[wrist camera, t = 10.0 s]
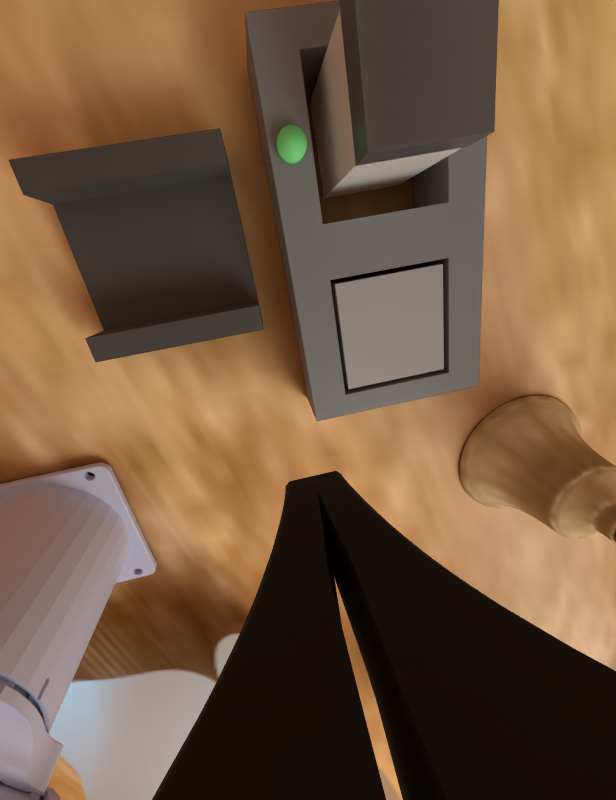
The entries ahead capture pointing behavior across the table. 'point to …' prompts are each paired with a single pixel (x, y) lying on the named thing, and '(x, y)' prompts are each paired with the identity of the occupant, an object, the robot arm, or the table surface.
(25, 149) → the table surface
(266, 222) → the table surface
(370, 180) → the plug
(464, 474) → the hand bell
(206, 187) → the dark grey bracket
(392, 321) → the port panel
